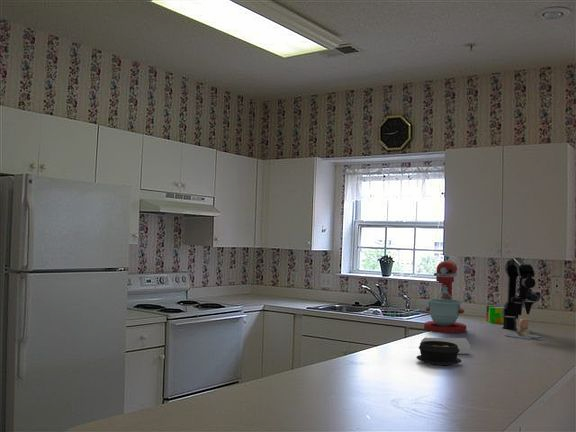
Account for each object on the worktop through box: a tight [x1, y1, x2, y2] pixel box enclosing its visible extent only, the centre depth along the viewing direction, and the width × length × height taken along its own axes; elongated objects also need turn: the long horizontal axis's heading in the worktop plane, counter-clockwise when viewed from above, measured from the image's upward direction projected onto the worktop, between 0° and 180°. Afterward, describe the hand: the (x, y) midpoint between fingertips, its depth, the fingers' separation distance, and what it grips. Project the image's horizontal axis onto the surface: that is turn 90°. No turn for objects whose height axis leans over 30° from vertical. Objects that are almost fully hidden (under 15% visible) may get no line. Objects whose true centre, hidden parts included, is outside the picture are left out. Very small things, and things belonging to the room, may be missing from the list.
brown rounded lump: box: [518, 318, 529, 329], centre depth 343 cm, size 5×5×5 cm
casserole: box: [415, 341, 462, 367], centre depth 260 cm, size 25×19×8 cm
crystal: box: [419, 337, 471, 355], centre depth 286 cm, size 7×7×24 cm
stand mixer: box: [423, 260, 467, 334], centre depth 360 cm, size 24×32×40 cm
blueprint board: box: [504, 332, 543, 340], centre depth 343 cm, size 14×16×1 cm
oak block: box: [516, 327, 531, 337], centre depth 343 cm, size 5×5×4 cm
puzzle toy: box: [485, 305, 507, 325], centre depth 401 cm, size 10×10×10 cm
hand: (524, 314), depth 343 cm, fingers open, 9 cm apart
